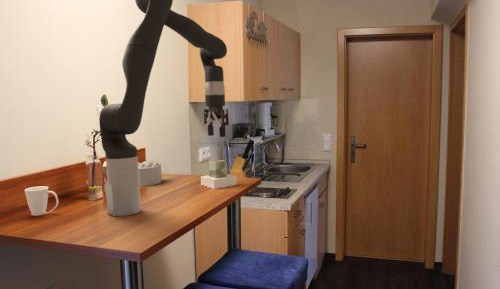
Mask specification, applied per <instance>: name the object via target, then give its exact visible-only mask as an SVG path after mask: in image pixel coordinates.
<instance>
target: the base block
mask: <svg viewBox="0 0 500 289" xmlns="http://www.w3.org/2000/svg"><path fill="white" fill-rule="evenodd" d="M202 185H204V186H203V187H205V186H207V187H206V188H209V187H210V188H209V189H212V188H213V189H212V190H218V189H223V188H228V186H229V187H233V186H234V185H235V186H237V176H236V175H233V174H228V173H227V176H226V177H220V178H214V177H209V175H208V174H207V175H202V176H200V186H202ZM235 186H234V187H235Z"/></svg>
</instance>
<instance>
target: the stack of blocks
mask: <svg viewBox="0 0 500 289" xmlns="http://www.w3.org/2000/svg"><path fill="white" fill-rule="evenodd" d="M101 168H102V170H101V171H102V183H103V184H102V185H103V199H104V201H106V202H107V198H106V184H105V183H106V182H108V181H107V167H106V160H105V161H104V162H103V164H102V167H101Z"/></svg>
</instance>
